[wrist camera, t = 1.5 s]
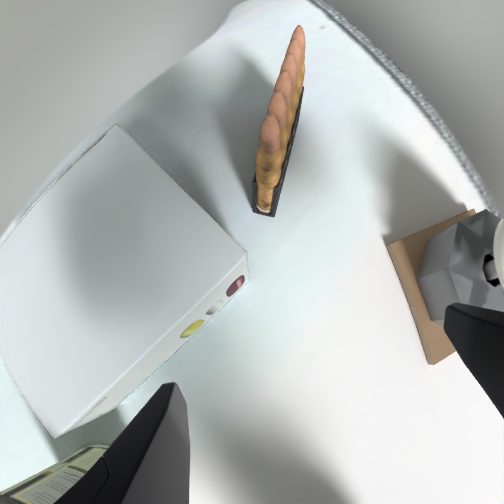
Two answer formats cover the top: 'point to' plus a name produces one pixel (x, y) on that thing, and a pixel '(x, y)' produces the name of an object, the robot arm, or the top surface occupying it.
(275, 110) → the ammunition clip
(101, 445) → the coffee can
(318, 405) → the top surface
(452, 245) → the pump canister
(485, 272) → the pump plunger
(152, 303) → the supplement box
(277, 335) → the top surface
